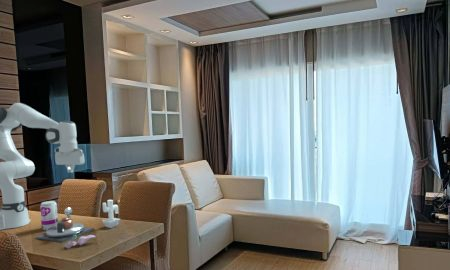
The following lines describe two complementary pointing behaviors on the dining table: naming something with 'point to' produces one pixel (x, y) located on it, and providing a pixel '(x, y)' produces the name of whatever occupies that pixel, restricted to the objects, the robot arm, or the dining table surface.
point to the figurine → (110, 214)
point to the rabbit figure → (80, 241)
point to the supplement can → (48, 214)
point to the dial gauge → (68, 212)
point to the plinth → (65, 238)
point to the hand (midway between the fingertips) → (70, 172)
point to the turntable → (60, 232)
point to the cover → (67, 223)
